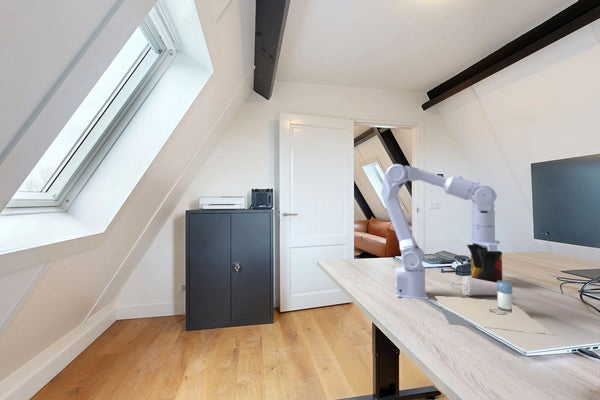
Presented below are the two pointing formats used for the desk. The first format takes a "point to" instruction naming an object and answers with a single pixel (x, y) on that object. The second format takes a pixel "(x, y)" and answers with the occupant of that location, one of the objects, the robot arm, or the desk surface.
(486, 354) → the desk surface
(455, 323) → the desk mat
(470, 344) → the desk surface
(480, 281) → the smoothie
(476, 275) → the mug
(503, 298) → the marker
